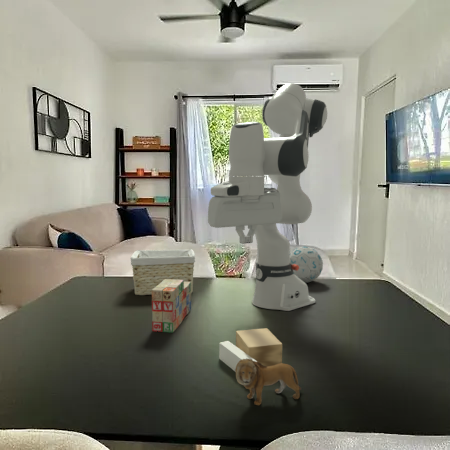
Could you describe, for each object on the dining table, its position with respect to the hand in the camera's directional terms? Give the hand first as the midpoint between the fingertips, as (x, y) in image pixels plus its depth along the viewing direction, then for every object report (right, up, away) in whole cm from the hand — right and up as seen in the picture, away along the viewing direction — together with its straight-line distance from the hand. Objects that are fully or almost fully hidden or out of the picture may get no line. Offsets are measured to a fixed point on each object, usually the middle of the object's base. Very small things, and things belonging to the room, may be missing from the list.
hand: (246, 243), depth 101 cm
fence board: (-2, -28, -10) cm, 30 cm away
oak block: (+3, -28, -6) cm, 29 cm away
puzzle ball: (+28, -20, +68) cm, 76 cm away
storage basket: (-29, -21, +55) cm, 65 cm away
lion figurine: (+3, -30, -23) cm, 38 cm away
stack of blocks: (-21, -25, +22) cm, 39 cm away
